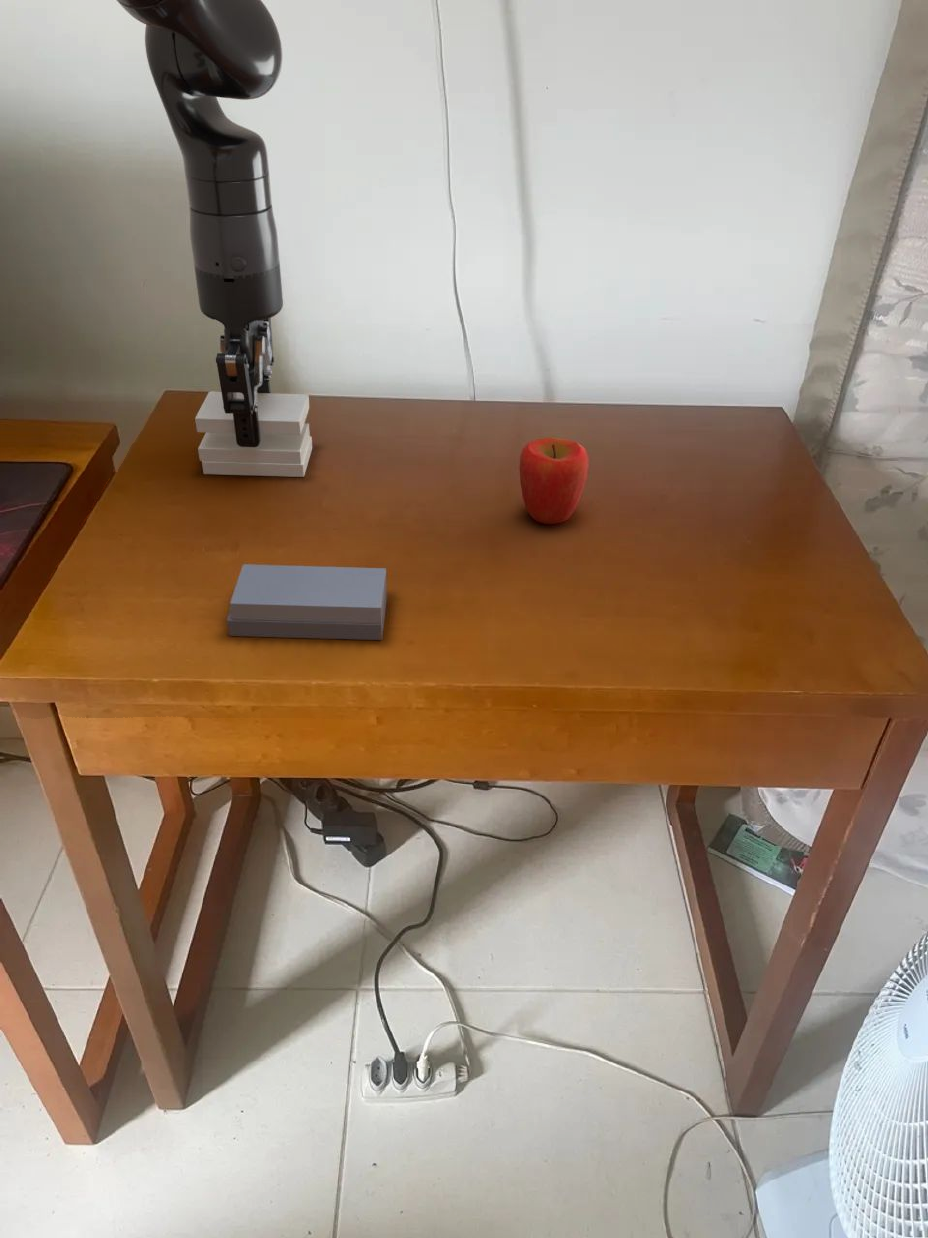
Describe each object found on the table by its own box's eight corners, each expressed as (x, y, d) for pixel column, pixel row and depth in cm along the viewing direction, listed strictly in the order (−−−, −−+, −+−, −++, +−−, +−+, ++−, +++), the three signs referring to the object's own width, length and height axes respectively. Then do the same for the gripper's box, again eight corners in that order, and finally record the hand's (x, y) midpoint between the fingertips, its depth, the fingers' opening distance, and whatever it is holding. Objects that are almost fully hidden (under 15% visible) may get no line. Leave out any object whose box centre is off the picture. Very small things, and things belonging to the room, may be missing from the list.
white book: (196, 432, 95) (194, 418, 94) (210, 404, 100) (209, 391, 99) (300, 435, 95) (299, 421, 94) (309, 407, 100) (308, 394, 99)
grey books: (228, 636, 77) (223, 603, 75) (242, 595, 81) (238, 563, 79) (381, 640, 77) (380, 608, 75) (386, 599, 81) (386, 567, 80)
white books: (201, 474, 97) (197, 448, 96) (214, 444, 102) (211, 420, 101) (304, 477, 98) (302, 451, 96) (312, 447, 103) (310, 423, 101)
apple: (562, 494, 96) (569, 424, 92) (594, 525, 92) (603, 452, 87) (505, 506, 94) (509, 435, 90) (534, 538, 90) (540, 465, 85)
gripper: (212, 233, 93) (232, 398, 103) (174, 283, 82) (201, 463, 92) (290, 236, 93) (303, 400, 104) (264, 286, 82) (281, 465, 92)
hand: (255, 429), depth 98 cm, fingers closed on white book, 6 cm apart
